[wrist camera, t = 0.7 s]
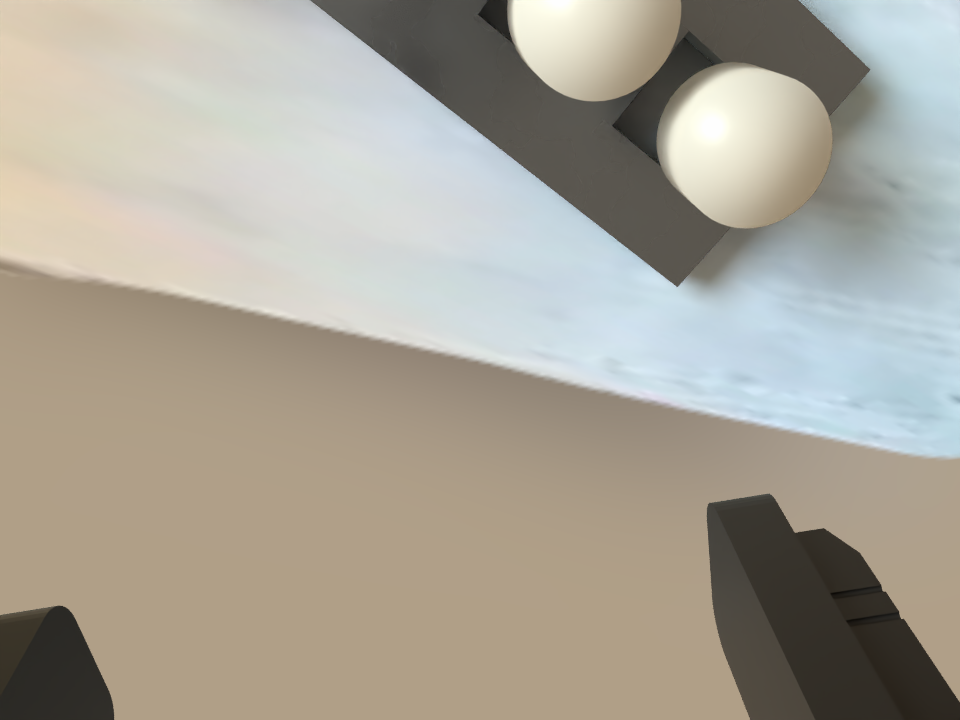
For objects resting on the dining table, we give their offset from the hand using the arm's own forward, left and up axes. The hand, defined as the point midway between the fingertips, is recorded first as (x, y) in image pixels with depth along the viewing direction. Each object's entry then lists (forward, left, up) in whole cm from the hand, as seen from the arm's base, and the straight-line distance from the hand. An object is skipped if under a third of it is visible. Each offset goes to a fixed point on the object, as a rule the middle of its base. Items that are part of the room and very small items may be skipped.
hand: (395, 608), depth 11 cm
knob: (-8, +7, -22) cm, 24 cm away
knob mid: (-8, +1, -22) cm, 24 cm away
